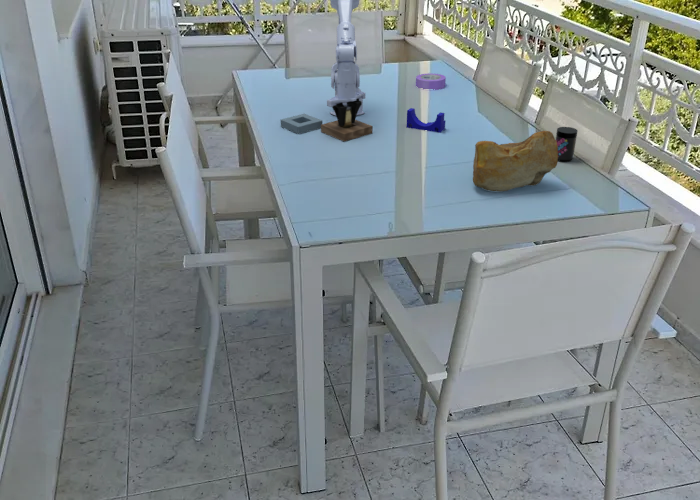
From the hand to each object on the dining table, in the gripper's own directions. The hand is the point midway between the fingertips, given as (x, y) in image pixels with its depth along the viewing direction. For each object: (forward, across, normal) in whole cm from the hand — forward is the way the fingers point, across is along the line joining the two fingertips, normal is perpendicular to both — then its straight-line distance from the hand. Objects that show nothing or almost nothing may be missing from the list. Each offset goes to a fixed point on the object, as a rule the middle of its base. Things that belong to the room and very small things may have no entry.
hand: (346, 123), depth 229 cm
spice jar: (+3, 0, 0) cm, 3 cm away
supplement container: (+3, +34, -60) cm, 69 cm away
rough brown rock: (+3, +8, -60) cm, 61 cm away
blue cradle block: (+3, +23, -14) cm, 27 cm away
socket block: (+3, 0, 0) cm, 3 cm away
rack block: (+3, -8, +14) cm, 16 cm away
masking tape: (+3, +61, +21) cm, 65 cm away
